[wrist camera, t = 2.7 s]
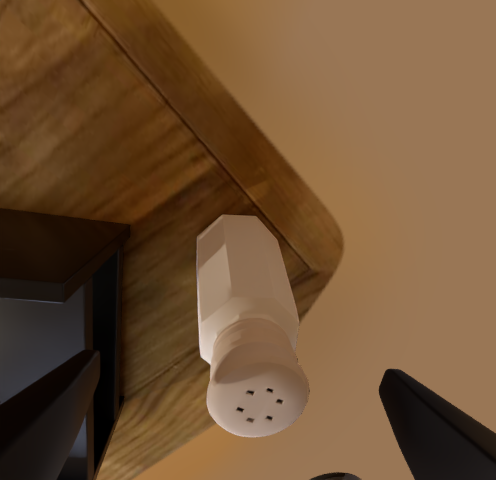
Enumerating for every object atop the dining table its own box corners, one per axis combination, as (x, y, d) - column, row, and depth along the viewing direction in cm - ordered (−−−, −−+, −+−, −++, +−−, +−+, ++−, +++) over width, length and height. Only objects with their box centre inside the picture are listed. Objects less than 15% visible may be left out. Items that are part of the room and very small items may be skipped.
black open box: (130, 224, 16) (62, 283, 9) (124, 403, 21) (74, 537, 14) (-41, 202, 15) (-269, 252, 8) (-10, 398, 19) (-142, 543, 12)
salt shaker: (215, 196, 16) (207, 283, 6) (293, 233, 18) (399, 359, 7) (179, 272, 18) (122, 451, 7) (254, 302, 19) (296, 491, 9)
